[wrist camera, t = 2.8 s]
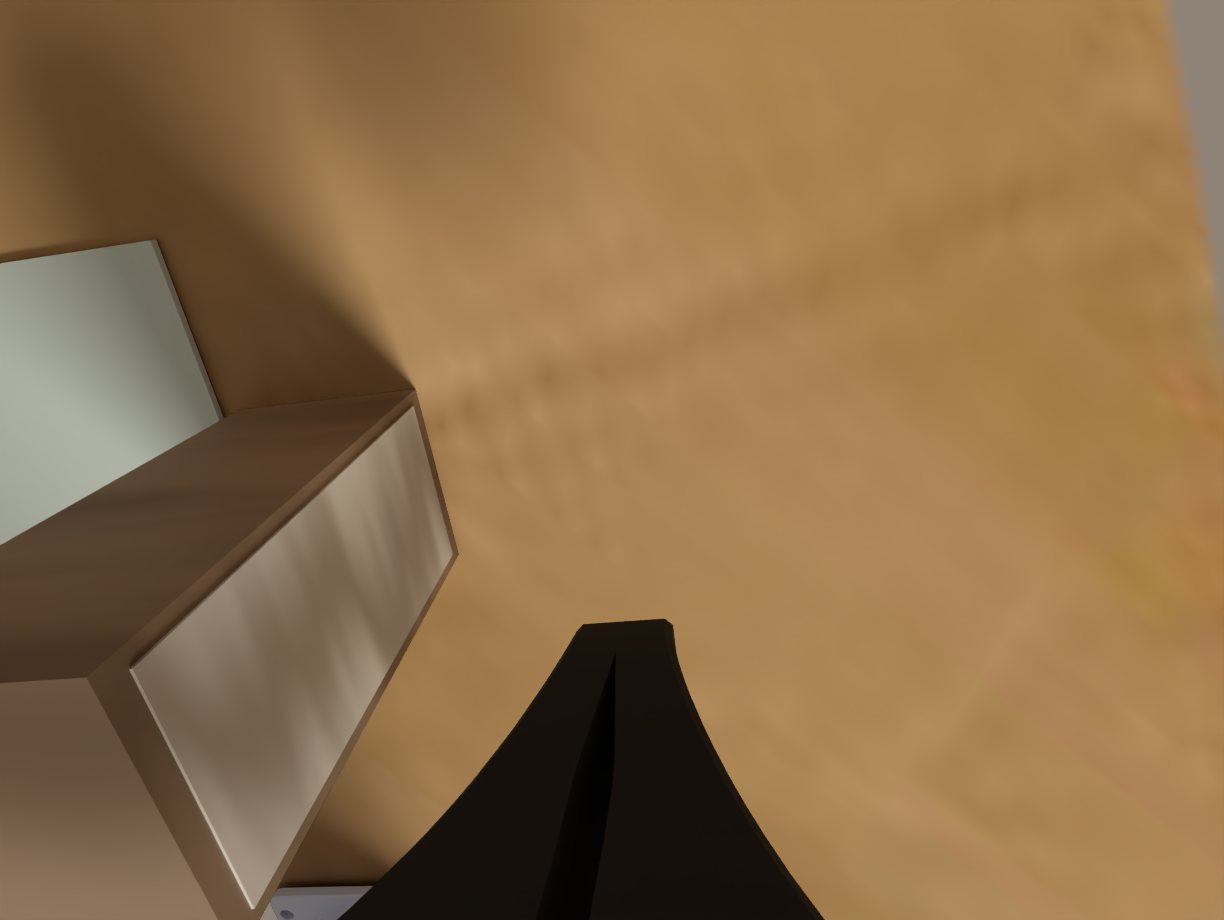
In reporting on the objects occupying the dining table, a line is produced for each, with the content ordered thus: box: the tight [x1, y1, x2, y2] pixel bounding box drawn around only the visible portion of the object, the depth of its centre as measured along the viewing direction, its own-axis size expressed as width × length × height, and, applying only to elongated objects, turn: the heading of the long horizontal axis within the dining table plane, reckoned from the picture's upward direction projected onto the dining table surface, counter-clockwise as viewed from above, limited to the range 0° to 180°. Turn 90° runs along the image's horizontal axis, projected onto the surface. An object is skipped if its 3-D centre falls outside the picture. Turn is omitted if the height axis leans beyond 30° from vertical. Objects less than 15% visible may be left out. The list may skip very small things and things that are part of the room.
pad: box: [0, 240, 224, 545], centre depth 20 cm, size 14×11×1 cm
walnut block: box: [0, 389, 459, 920], centre depth 14 cm, size 5×5×11 cm
